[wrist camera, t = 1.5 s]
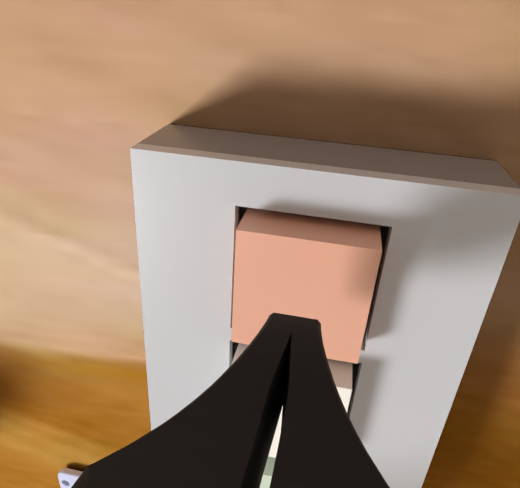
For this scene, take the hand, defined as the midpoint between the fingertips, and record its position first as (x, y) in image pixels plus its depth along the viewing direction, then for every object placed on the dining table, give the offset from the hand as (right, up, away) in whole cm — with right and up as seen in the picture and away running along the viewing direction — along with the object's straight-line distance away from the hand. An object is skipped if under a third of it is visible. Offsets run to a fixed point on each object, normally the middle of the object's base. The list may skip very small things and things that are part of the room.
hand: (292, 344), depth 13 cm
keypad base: (+1, -2, +9) cm, 9 cm away
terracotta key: (+1, +2, +4) cm, 4 cm away
